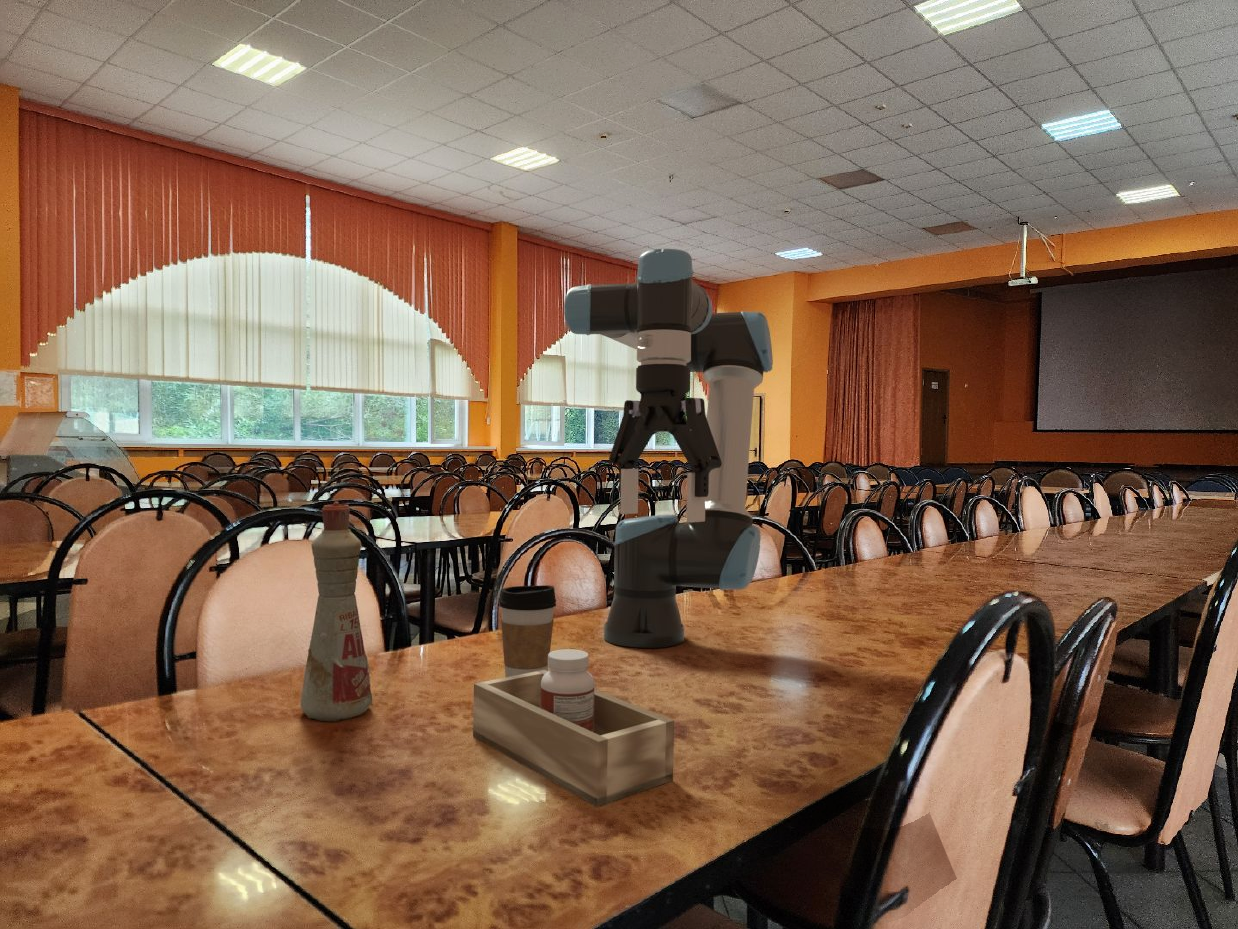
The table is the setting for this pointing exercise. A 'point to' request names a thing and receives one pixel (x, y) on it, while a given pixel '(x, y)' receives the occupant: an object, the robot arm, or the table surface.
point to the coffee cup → (526, 627)
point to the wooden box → (576, 739)
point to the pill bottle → (569, 688)
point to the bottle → (336, 627)
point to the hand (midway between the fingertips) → (660, 517)
